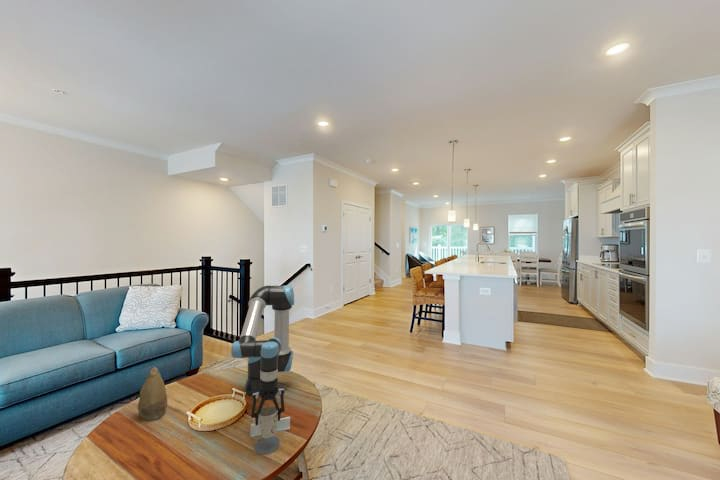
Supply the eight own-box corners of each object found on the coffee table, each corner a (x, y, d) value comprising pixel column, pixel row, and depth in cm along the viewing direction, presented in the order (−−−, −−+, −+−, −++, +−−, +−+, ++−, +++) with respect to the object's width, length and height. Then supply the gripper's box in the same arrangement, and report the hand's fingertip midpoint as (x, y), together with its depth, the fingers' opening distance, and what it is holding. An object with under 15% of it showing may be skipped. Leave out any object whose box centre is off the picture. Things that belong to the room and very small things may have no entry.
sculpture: (133, 418, 143) (134, 369, 143) (157, 406, 153) (158, 360, 153) (147, 425, 138) (148, 374, 138) (171, 413, 148) (172, 365, 148)
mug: (269, 442, 120) (269, 418, 121) (247, 435, 125) (246, 412, 126) (282, 430, 128) (281, 407, 128) (260, 424, 133) (260, 403, 133)
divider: (250, 433, 134) (250, 423, 134) (289, 425, 141) (289, 415, 141) (250, 437, 131) (250, 427, 131) (290, 429, 138) (290, 419, 138)
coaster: (254, 439, 130) (254, 439, 130) (278, 434, 134) (278, 433, 134) (254, 457, 120) (254, 456, 120) (281, 450, 124) (281, 449, 124)
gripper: (245, 385, 120) (243, 440, 120) (292, 378, 127) (291, 429, 127) (245, 377, 127) (244, 429, 127) (290, 371, 134) (289, 420, 134)
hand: (267, 429), depth 127 cm, fingers closed on mug, 7 cm apart
